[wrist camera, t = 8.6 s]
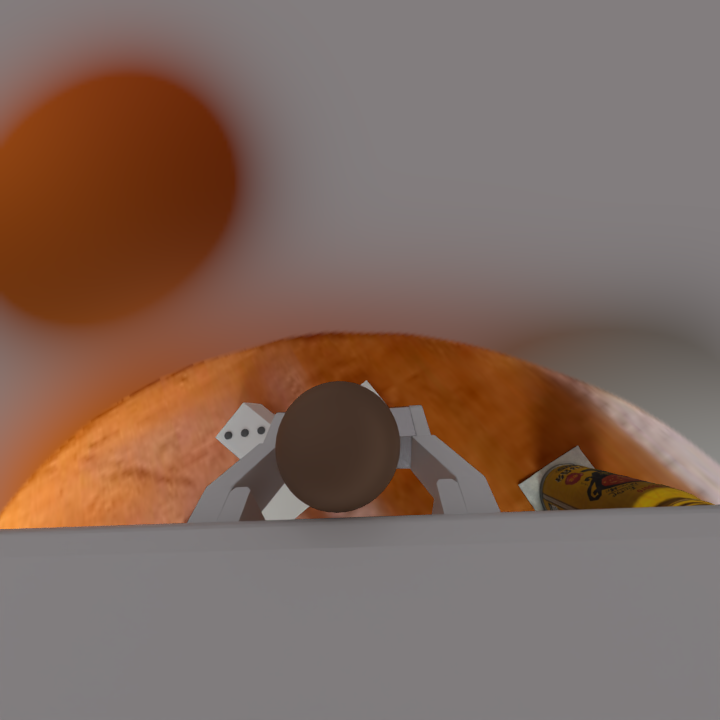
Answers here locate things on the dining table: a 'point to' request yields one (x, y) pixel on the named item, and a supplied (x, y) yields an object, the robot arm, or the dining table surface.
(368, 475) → the pawn
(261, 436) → the die
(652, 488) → the condiment
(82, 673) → the robot arm
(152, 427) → the dining table surface
